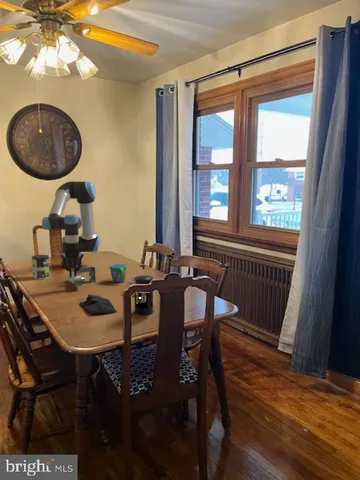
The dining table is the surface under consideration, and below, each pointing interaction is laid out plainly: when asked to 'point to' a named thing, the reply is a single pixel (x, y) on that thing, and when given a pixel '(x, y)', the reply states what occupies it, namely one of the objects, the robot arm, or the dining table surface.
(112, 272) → the snack cup
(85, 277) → the pin plate
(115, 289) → the dining table surface
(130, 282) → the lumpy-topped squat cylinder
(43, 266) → the coffee can
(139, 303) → the french press
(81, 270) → the keeper
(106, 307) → the black folded cloth
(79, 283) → the link
